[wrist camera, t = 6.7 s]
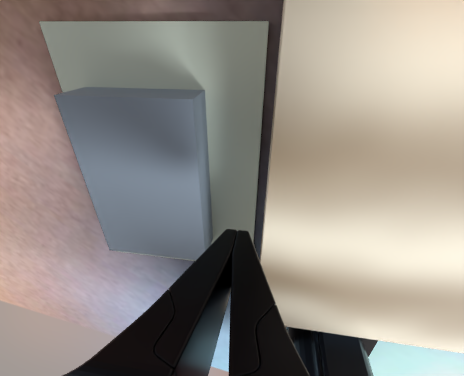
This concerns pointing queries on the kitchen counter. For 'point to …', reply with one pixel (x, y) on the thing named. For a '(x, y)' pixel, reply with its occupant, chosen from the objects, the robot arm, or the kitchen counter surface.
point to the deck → (369, 171)
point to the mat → (187, 78)
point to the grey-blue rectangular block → (144, 166)
